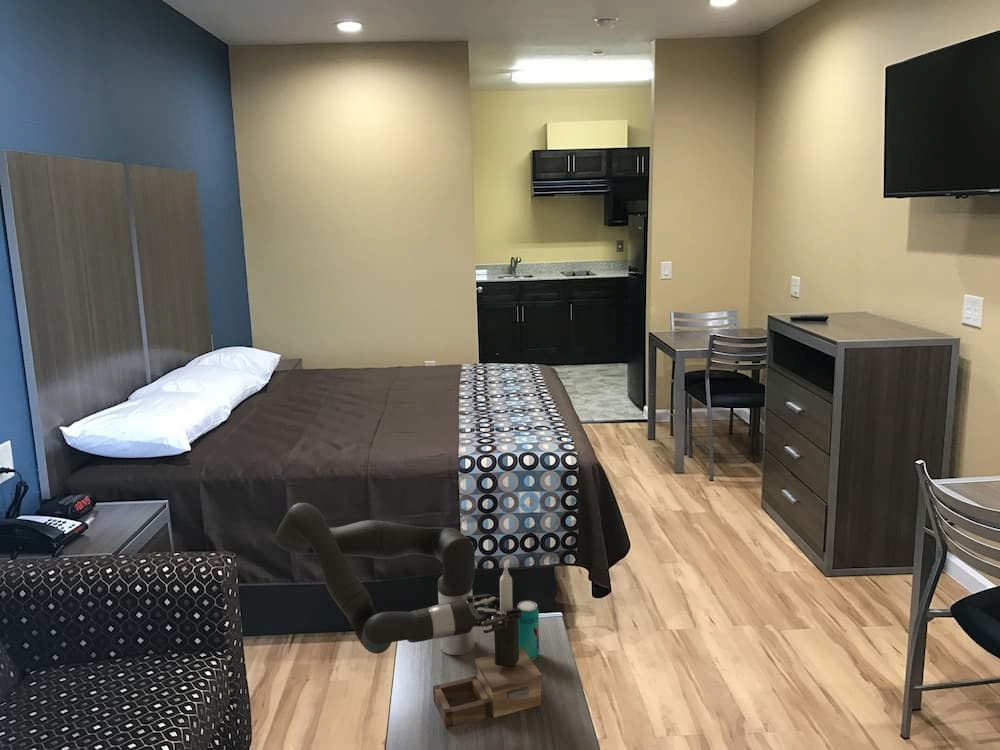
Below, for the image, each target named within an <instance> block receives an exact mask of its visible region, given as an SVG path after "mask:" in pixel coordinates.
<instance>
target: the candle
mask: <svg viewBox="0 0 1000 750" xmlns="http://www.w3.org/2000/svg"><path fill="white" fill-rule="evenodd" d="M508 566H509V565H506V564H505V565H504V567H503V573H502V575H501V576H500V578H499V597H500V607H498V608H497V609H496V610H497V611H505V612H506V611H508V610H513V609H516V608H515V607H513V577H512V576H511V575H510V573H509V570H508ZM497 617H500V616H497ZM499 624H502V623H498V625H499ZM493 632H494V636H493V638H494V654H495V664H496V665H497V666H505V667H508V668H513V667H515V665H516V664H517V662H518V660H519V619H514V620H509V621H507V627H506V628H503V629H499V630H496V631H493Z"/></svg>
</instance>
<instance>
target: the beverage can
mask: <svg viewBox="0 0 1000 750" xmlns="http://www.w3.org/2000/svg"><path fill="white" fill-rule="evenodd" d="M518 608H520V609H521V611H522V617H521V618H519V648H523V649H524V651H525V652H526V654H527V655H528V656H529V658H530V659H531V660H532V662H534V661H536V659H537V658H538V655H539V653H540V628H539V627H540V625H539V623H540V622H539V621H540V620H539V617H540V614H539V612H540V611H539V608H538V604H537V602H535V601H532V600H523V601H520V602H519V603H518V604H517V608H516V609H518Z"/></svg>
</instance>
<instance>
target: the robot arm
mask: <svg viewBox="0 0 1000 750" xmlns="http://www.w3.org/2000/svg"><path fill="white" fill-rule="evenodd" d="M275 540H276V543H277V545H278V546H279V547H280V548H281V549H283V551H286V552H288V553H291V554H296V555H315V556H316V559H317V561H318V562H319V566H320V569H321V572H322V576H323V579H324V580H323V581H324V583H325V586H326V589H327V591H328V593H329V594H330V596H331V598H332V599H333V601H334V602H335V604H336V605H337V606H338V607H339V609H340V611H341V612H342V613H343V615H344V616H345V617H346V619H347V620H348V622H349V624H350V626H351V628H352V630H353V631H354V634H355V635H356V637H357V639H358V640H359V643H360V644H361V645H362V646H363V648H365V650H366V651H368V652H369V653H372V654H382V653H384V652H386V651H387V650H388V649H389V648H390V647H391V645H392V643H396V642H401V641H402V642H403V641H407V642H408V643H412V644H413V643H420V642H424V641H430V640H437V639H440V649H441V651H442V652H443V653H445V654H446V655H452V656H462V655H465V654H468V653H470V652H472V651H473V649H474V648H475V632H474V631H475V628H476V627H478V628H479V627H481V628H482V630H483V631H482V632H483V634H489V633H493V632H494V631H496V630H499V629H503V628H506V627H507V621H509V620H514V619H519V618H521V617H522V611H521V609H520V608H518V607H517V608H518V609H517V608H515V609H513V610H508V611H506V612H505V611H497V609H498V608H499V607H500V596H499V597H495V596H492V594H491V593H484V594H483V593H482V594H476V595H474V594H473V583H474V580H475V574H476V572H475V571H476V552H475V547H474V543H473V542H472V540H471V539H470V538H468V537H467V536H466V535H465V534H464V533H463V532H461V531H460V530H459V529H456V528H452V527H440V526H439V527H426V526H423V527H422V526H415V525H411V524H410V525H409V524H403V523H398V522H397V523H396V522H393V521H383V520H376V519H374V520H373V519H367V520H361V521H357V522H354V523H350V524H347V525H341V526H338V527H337V526H336V527H329V525H328V523H327V522H326V519H325V518H324V516H323V514H322V513H321V511H320V510H319V509H318V508H317V507H315V506H314V505H312V504H311V503H307V502H298V503H295V504H293V505H292V506H291V507H290V508H289V510H288V511H287V512H286V514H285V516H284V517H283V519H282V520H281V522H280V524H279V526H278V528H277V531H276V533H275ZM408 555H420V556H421V555H422V556H427V557H432V558H435V559H437V560H439V561H440V562H441V563H442V574H441V576H439V577H438V580H437V596H438V598H437V599H438V604H436V605H432V606H428V607H424V608H420V609H414V610H411V611H402V610H401V611H399V610H398V611H385V612H379V613H378V612H377V610H376V608H375V606H374V604H373V603H374V602H373V599H372V596H371V595H370V593H369V591H368V589H366V588H365V586H364V585H363V583H362V582H361V580H360V579H359V578H358V576H357V575H356V574H355V573H354V571H353V569H352V568H351V566H350V565H349V564H348V561H347V560H346V558H345V556H354V557H366V558H371V559H375V558H376V559H383V560H384V559H385V560H392V559H397V558H398V559H399V558H401V557H404V556H405V557H406V556H408ZM496 608H497V609H496ZM497 616H500V617H497ZM498 623H502V624H499V625H498Z"/></svg>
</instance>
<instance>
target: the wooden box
mask: <svg viewBox="0 0 1000 750" xmlns="http://www.w3.org/2000/svg"><path fill="white" fill-rule="evenodd" d="M474 662H475V666H476V672H477V673H476V675H474V676H470V677H466V678H463V679H462V678H461V679H458V680H453V681H449V682H445V683H442V684H441V683H440V684H438V685H437V684H436V685H433V686H432V692H433V702H434V705H435V707H436V708H437V710H438V713H439V715H440V717H441V720H442V722H443V724H444V726H445V728H446V729H450V728H454V727H458V726H462V725H466V724H468V723H473V722H477V721H481V720H484V719H488V718H491V717H492V716H493V718H498V717H502V716H506V715H508V714H509V715H510V714H513V713H517V712H520V711H525V710H528V709H531V708H536V707H541V705H542V696H541V695H542V692H541V691H542V687H541V686H542V683H541V682H542V681H543V675H542V673H541V671H540V670H539V669H538V668H537V666H536V664H535V663H534V661H532V660H531V659H530V658H529V656H528V655H527V654H526V652H525V651H524V649H523V648H519V660H518V662H517V664H516V665H515V667H513V668H508V667H505V666H497V665H496V664H495V653H494V654H490V655H486V656H481V657H477V658H475V659H474ZM470 696H472V697H473V698H474V700H475V701H471V702H468V703H464V704H459V705H456V706H450V704H449V703H448V702H450V701H455V700H459V699H463V698H466V697H470Z"/></svg>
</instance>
